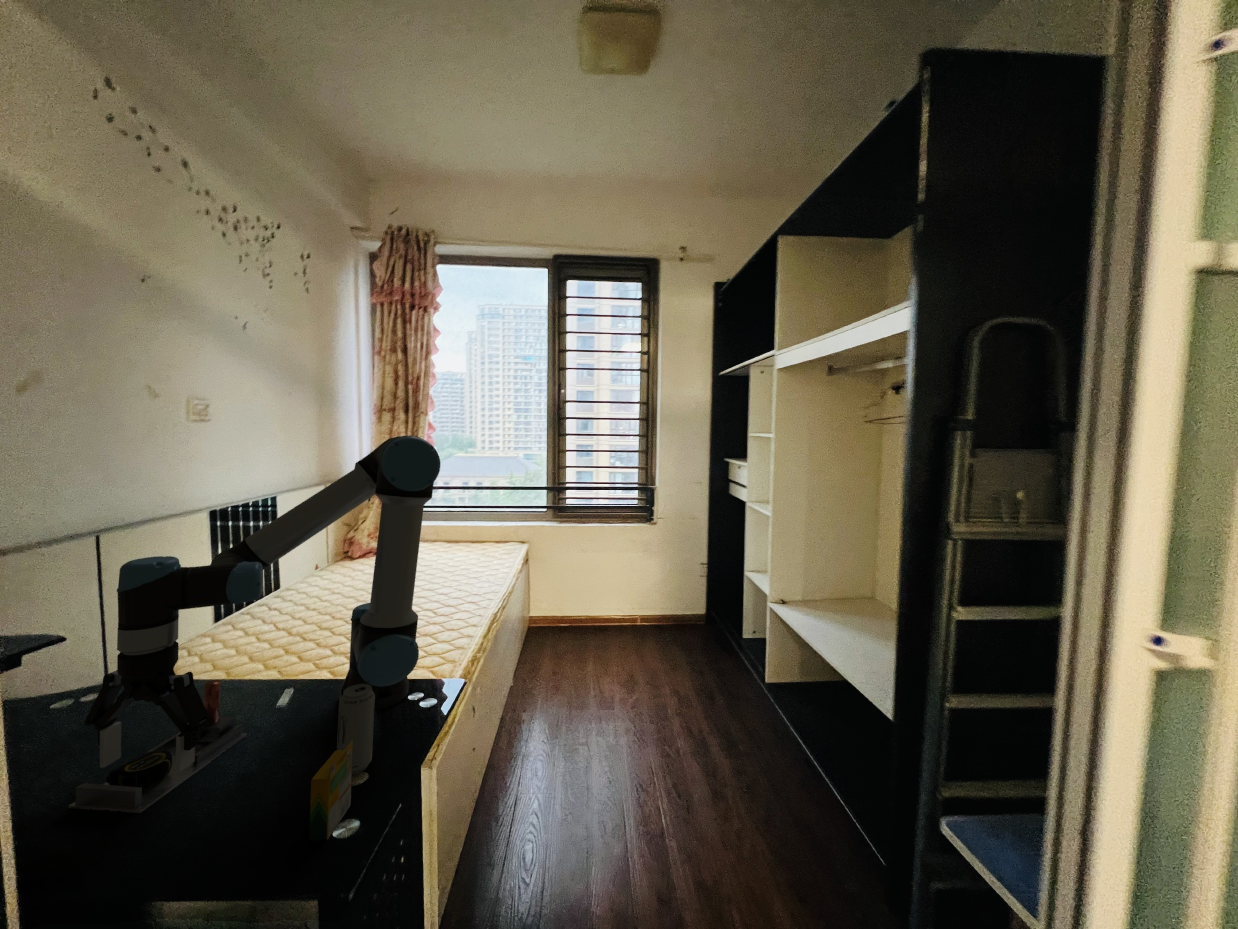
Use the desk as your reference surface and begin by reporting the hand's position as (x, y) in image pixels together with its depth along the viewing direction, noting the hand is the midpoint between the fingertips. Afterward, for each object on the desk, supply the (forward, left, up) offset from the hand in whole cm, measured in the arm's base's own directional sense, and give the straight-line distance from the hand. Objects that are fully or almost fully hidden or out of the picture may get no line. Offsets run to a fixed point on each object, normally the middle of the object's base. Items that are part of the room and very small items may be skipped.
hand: (147, 764), depth 81 cm
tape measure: (+1, 0, -3) cm, 3 cm away
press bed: (0, -4, -3) cm, 5 cm away
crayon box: (-37, +5, -4) cm, 37 cm away
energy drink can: (-33, -8, -4) cm, 34 cm away
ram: (0, -12, -3) cm, 12 cm away
